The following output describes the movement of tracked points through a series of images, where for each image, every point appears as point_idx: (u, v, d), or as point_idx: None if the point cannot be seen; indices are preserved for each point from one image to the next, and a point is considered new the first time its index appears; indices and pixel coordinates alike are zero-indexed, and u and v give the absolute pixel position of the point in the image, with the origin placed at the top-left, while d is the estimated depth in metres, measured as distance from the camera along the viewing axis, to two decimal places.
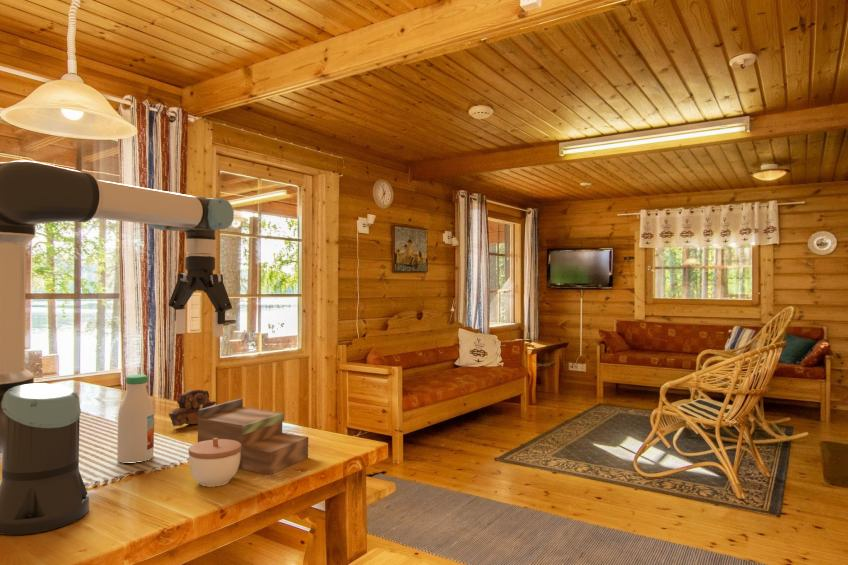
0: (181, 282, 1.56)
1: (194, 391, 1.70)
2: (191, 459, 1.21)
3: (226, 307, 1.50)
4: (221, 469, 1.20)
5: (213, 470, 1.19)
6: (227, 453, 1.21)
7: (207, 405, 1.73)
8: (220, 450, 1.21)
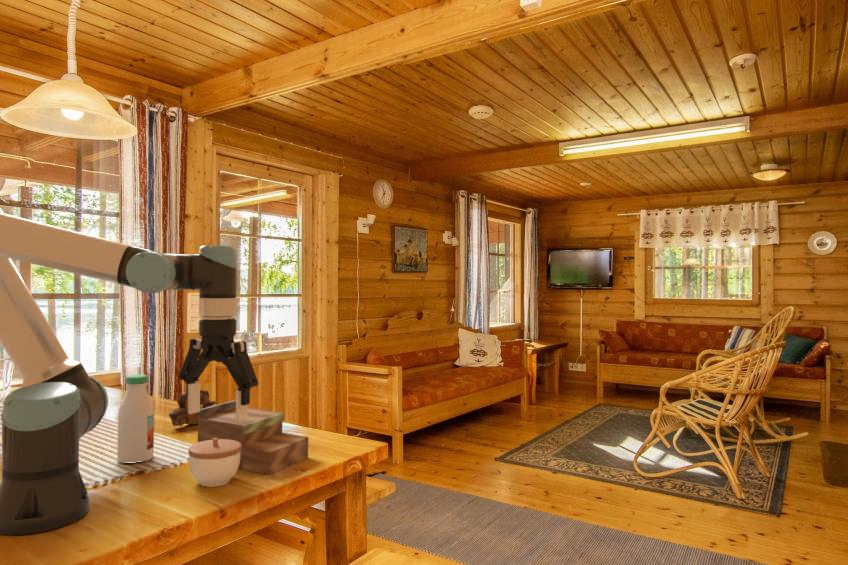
0: (194, 350, 1.26)
1: None
2: (191, 459, 1.21)
3: (251, 384, 1.19)
4: (221, 469, 1.20)
5: (213, 470, 1.19)
6: (227, 453, 1.21)
7: (207, 405, 1.73)
8: (220, 450, 1.21)
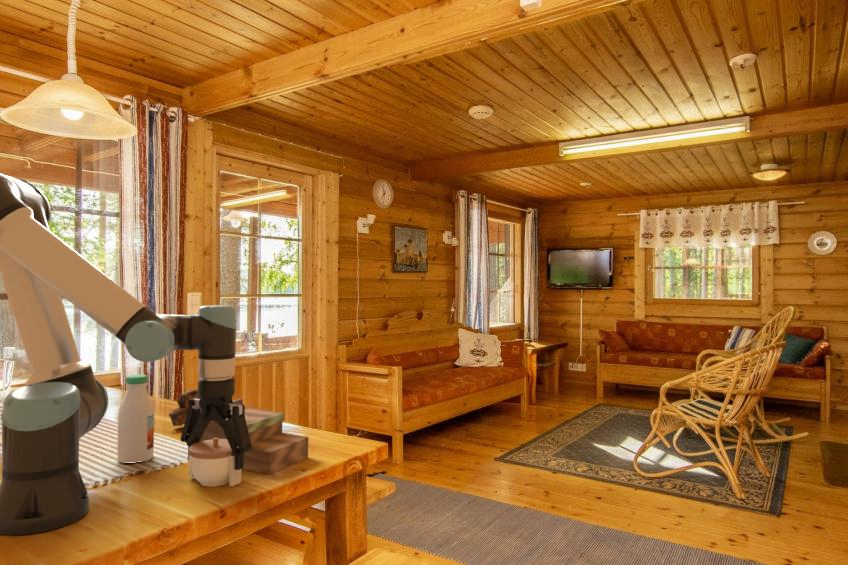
0: (193, 410, 1.26)
1: (194, 391, 1.70)
2: (191, 459, 1.21)
3: (245, 450, 1.20)
4: (221, 469, 1.20)
5: (214, 470, 1.19)
6: (227, 453, 1.21)
7: None
8: (220, 450, 1.21)
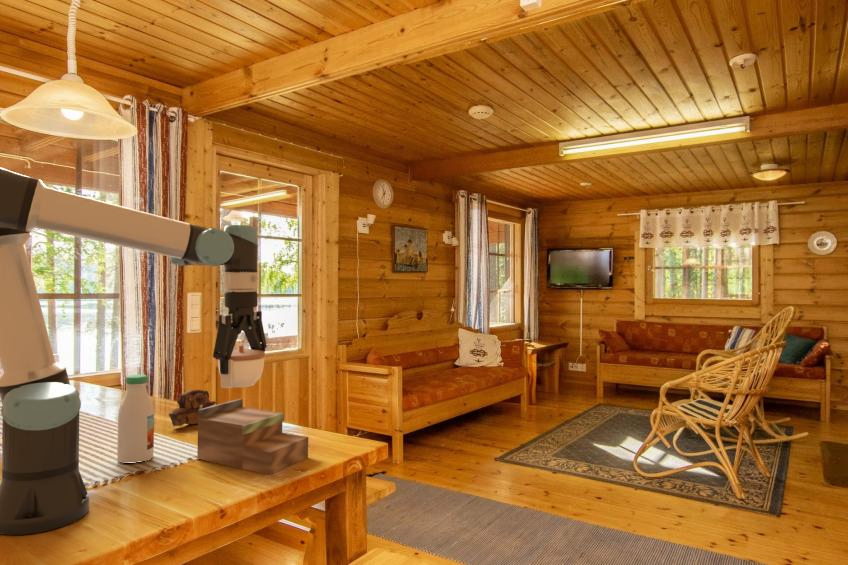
0: None
1: (194, 391, 1.70)
2: None
3: (215, 355, 1.29)
4: None
5: None
6: None
7: (207, 405, 1.73)
8: None
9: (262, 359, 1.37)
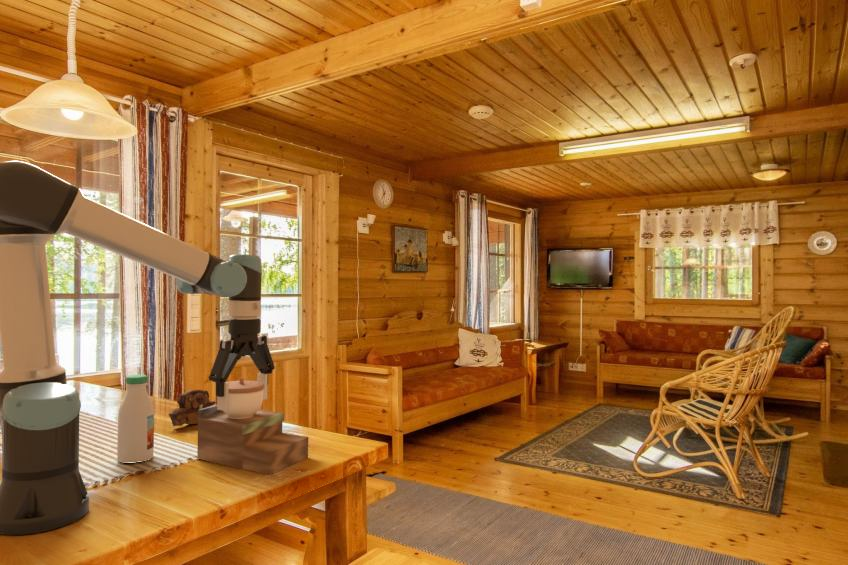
0: (258, 345, 1.47)
1: (194, 391, 1.70)
2: None
3: (210, 378, 1.33)
4: None
5: None
6: None
7: (207, 405, 1.73)
8: None
9: (260, 392, 1.40)
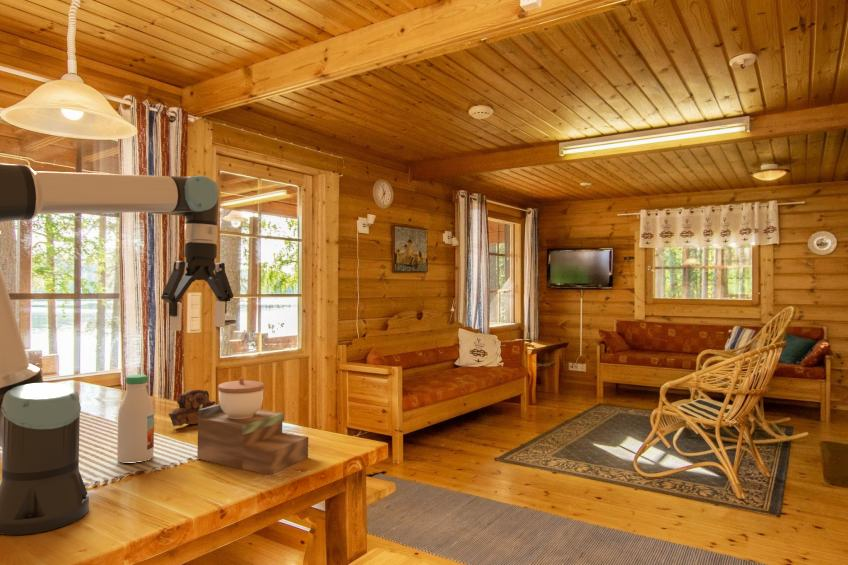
0: (216, 272, 1.48)
1: (194, 391, 1.70)
2: None
3: (162, 297, 1.34)
4: (219, 401, 1.38)
5: None
6: (220, 388, 1.37)
7: (207, 405, 1.73)
8: (224, 385, 1.39)
9: (260, 392, 1.40)
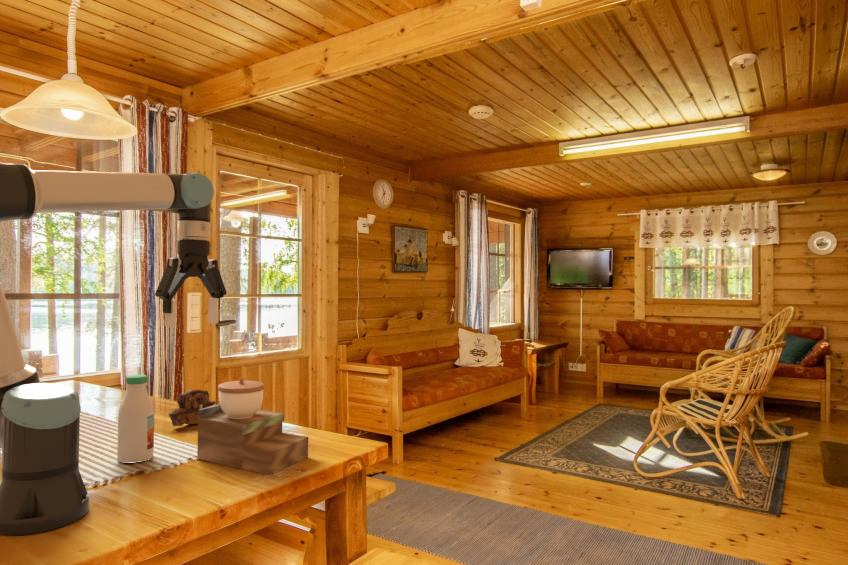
0: (209, 269, 1.49)
1: (194, 391, 1.70)
2: None
3: (156, 294, 1.34)
4: (219, 401, 1.38)
5: None
6: (220, 388, 1.37)
7: (207, 405, 1.73)
8: (224, 385, 1.39)
9: (260, 392, 1.40)
